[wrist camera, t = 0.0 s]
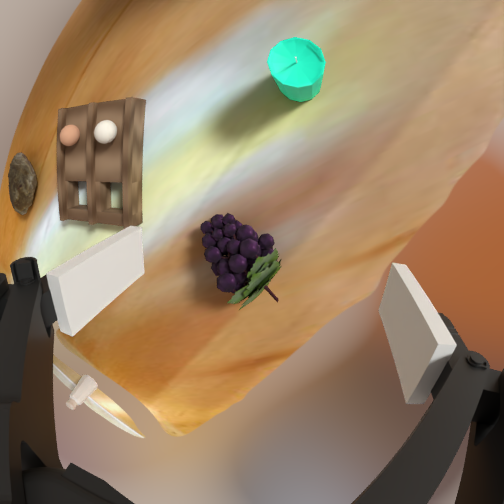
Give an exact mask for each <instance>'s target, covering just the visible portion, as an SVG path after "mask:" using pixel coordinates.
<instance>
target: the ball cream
mask: <svg viewBox="0 0 504 504" xmlns="http://www.w3.org/2000/svg"><path fill="white" fill-rule="evenodd" d="M116 134H117V127H116V125H115V124H114V123H113V122H112V121H110V120H104V121H101V122H100V123H98V124H97V126H96V127H95V130H94V136H95V138H96V140H97V141H98V142H100V143H103V144H106V143H109V142H111V141H112V140H113V139H114V138H115V137H116Z"/></svg>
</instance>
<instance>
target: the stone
mask: <svg viewBox="0 0 504 504" xmlns="http://www.w3.org/2000/svg"><path fill="white" fill-rule="evenodd" d="M8 177H9V194H10V200H11V203H12V206H13V208H14V209H15V211H17V212H18V213H20V214H21V215H24V214H26V213H27V210H28V207H30V206H31V205H32V202H33V198H34V192H35V188H36V185H37V180H36V179H37V178H36V174H35V171H34V169H33V166H32V165H31V163H30V162H29V160H28V159H27V157H26V156H25V155H24V154H23V153H22V152H21V153H17V154H16V155H15V156H14V158H13V160H12V162H11V164H10V170H9V174H8Z"/></svg>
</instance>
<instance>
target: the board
mask: <svg viewBox="0 0 504 504" xmlns="http://www.w3.org/2000/svg"><path fill="white" fill-rule="evenodd" d="M145 104H146V100H144V99H138V98H133V97H129V98H126V99H122V100H114V101H107V102H100V103H94V102H93V103H89V104H88V105H82V106H76V107H71V108H61V109H59V110H58V127H57V183H58V201H59V214H60V220H61V221H64V220H67V219H71V220H79V221H87V222H89V224H91V225H94V224H96V223H103V224H110V225H118V226H124V229H125V228H127V227H129V226H137V225H139V224H140V223H142V158H143V134H144V117H145ZM104 120H110V121H112V122H113V123H114V124H115V125H116V127H117V134H116V137H115V138H114V139H113V140H112V141H111V142H109V143H106V144H103V143H100V142H98V141H97V140H96V138H95V136H94V130H95V127H96V126H97V124H98V123H100V122H101V121H104ZM67 125H75V126H77V127H78V129H79V131H80V137H79V140H78V141H77V142H76V143H75V144H74V145H72V146H65V145H64V144H62V143H61V141H60V132H61V130H62V129H63V128H64V127H65V126H67ZM78 181H86V182H87V205H79V191H78ZM111 182H119V183H122V192H123V209H121V208H111Z"/></svg>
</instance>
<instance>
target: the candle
mask: <svg viewBox="0 0 504 504" xmlns="http://www.w3.org/2000/svg"><path fill="white" fill-rule="evenodd" d="M267 63H268V66H269V69H270V71H271V74H272V76H273V78H274V80H275V82H276V84H277V85H278V87H279V89H280V91H281V92H282V93H283V94H284V95H285V96H286V97H287V98H289V99H290V100H294V101H298V102H303V101H307V100H311V99H313V98H314V97H315V96H316V95H317V94H318V93H319V92H320V88H321V83H322V79H323V73H324V68H325V63H326V62H325V59H324V56H323V53H322V51H321V48H319V47H318V46H317V45H315V44H314V43H313V42H311V41H310V40H307V39H302V38H297V37H293V38H290V39H286V40H283V41H280V42H279V43H278V44H277V45H276V46H275V47H273V48H272V49H271V50H270V54H269V57H268V60H267Z"/></svg>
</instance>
